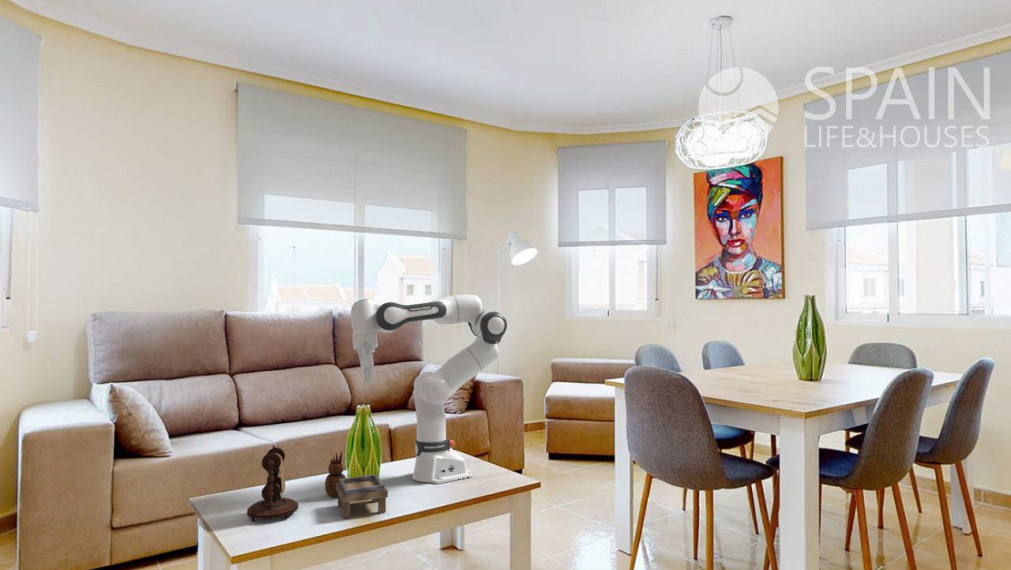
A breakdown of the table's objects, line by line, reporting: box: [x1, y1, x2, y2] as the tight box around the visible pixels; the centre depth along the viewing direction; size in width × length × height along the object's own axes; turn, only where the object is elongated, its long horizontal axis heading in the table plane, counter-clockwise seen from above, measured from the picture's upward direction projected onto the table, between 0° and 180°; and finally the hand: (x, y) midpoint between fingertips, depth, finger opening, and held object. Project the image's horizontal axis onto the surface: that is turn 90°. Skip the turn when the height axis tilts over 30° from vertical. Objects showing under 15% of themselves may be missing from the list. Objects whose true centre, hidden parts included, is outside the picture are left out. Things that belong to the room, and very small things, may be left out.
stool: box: [336, 474, 389, 520], centre depth 184 cm, size 14×14×8 cm
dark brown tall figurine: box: [246, 447, 299, 523], centre depth 179 cm, size 15×15×20 cm
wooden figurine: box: [324, 451, 347, 499], centre depth 196 cm, size 7×6×15 cm
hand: (368, 381), depth 208 cm, fingers open, 8 cm apart
